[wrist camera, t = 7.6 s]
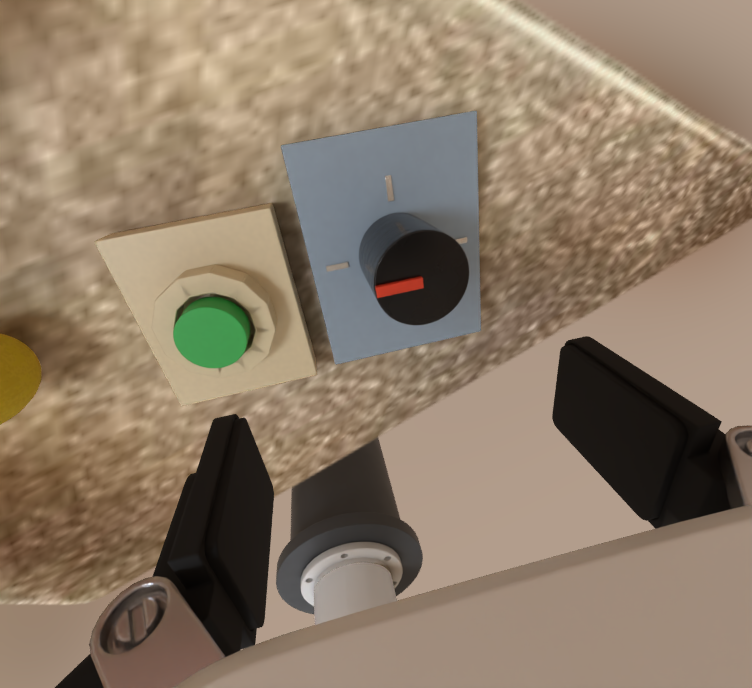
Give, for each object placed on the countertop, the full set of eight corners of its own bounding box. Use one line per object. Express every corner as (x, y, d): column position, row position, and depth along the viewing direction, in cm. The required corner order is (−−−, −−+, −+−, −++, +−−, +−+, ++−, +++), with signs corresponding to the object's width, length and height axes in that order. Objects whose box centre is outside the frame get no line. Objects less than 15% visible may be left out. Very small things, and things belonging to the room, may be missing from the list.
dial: (432, 205, 22) (470, 221, 17) (438, 282, 25) (473, 316, 20) (351, 221, 22) (367, 242, 17) (365, 298, 24) (383, 337, 19)
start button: (258, 347, 24) (256, 360, 22) (196, 360, 24) (189, 375, 22) (238, 289, 22) (233, 300, 21) (170, 304, 22) (160, 315, 20)
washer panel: (465, 315, 30) (482, 332, 27) (332, 345, 29) (335, 366, 26) (457, 114, 23) (478, 110, 20) (282, 145, 22) (280, 145, 19)
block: (316, 360, 29) (318, 389, 26) (189, 389, 28) (173, 423, 25) (272, 202, 23) (267, 212, 20) (110, 233, 23) (76, 249, 19)
